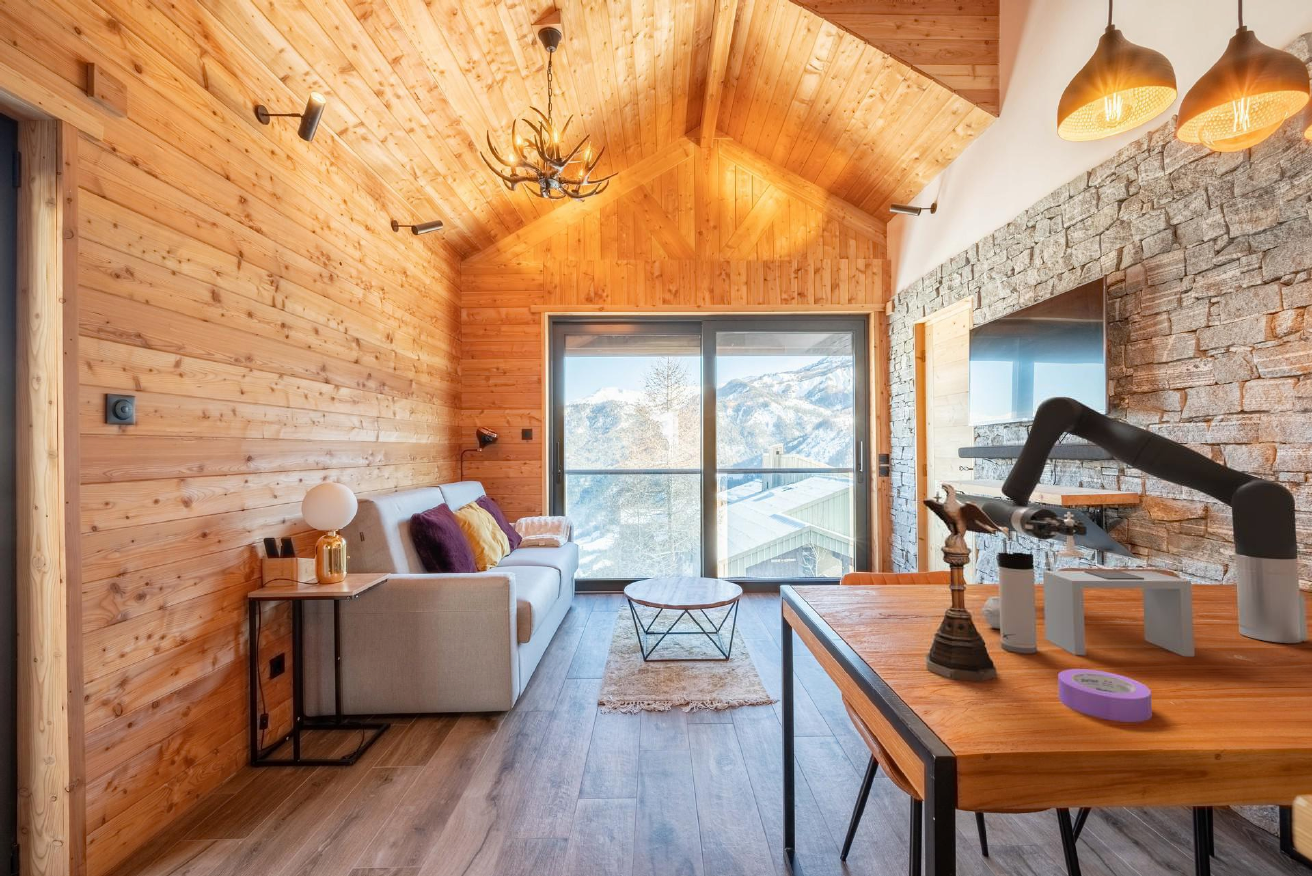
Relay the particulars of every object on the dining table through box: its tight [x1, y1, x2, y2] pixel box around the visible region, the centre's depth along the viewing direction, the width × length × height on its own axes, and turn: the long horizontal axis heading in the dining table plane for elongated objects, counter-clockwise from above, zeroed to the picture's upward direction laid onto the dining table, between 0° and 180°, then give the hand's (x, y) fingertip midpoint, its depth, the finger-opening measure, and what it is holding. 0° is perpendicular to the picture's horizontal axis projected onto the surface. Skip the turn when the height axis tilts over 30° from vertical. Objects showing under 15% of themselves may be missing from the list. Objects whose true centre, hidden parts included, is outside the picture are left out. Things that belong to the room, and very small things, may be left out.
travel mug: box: [997, 551, 1038, 655], centre depth 119 cm, size 6×7×20 cm
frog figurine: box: [981, 596, 1000, 630], centre depth 134 cm, size 6×7×7 cm
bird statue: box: [922, 483, 1012, 682], centre depth 111 cm, size 17×13×35 cm
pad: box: [1083, 570, 1144, 580], centre depth 120 cm, size 7×7×1 cm
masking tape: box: [1057, 668, 1153, 723], centre depth 92 cm, size 12×12×4 cm
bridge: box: [1042, 570, 1195, 657], centre depth 120 cm, size 22×10×14 cm, turn 85°
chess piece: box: [1057, 511, 1085, 558], centre depth 134 cm, size 5×5×10 cm
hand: (1077, 530), depth 131 cm, fingers closed on chess piece
